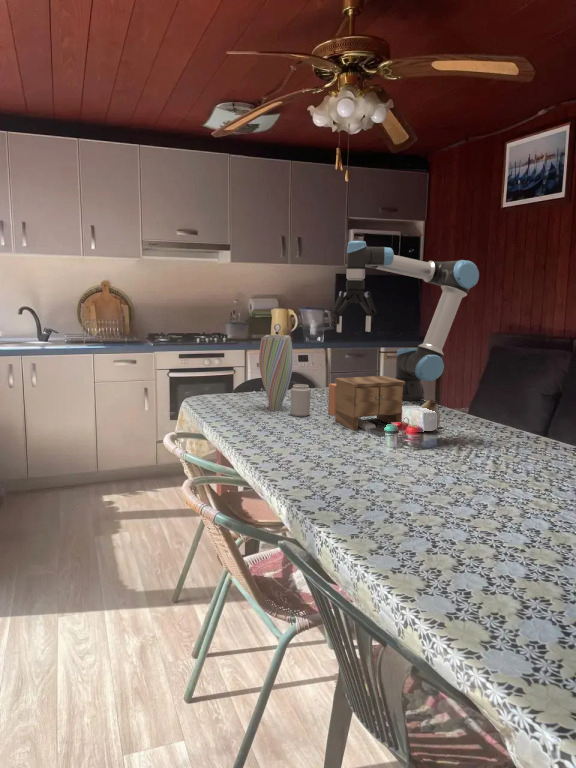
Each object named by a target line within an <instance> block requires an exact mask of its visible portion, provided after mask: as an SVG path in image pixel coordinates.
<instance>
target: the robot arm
mask: <svg viewBox="0 0 576 768" xmlns="http://www.w3.org/2000/svg"><path fill="white" fill-rule="evenodd" d="M366 268H370V269H374V270H375V269H376V270H379V271H384V272H390V273H393V274H397V275H403V276H408V277H413V278H417V279H421V280H422V281H424V282H425V283H429V284H433V285H437V286H439V287H440V288H441V290H442V293H441V295H440V298H439V300H438V303H437V306H436V309H435V311H434V313H433V316H432V319H431V322H430V324H429V327H428V329H427V332H426V335H425V337H424V339H423V343H421V344H418V345H417V348H416V347H415V348H414V347H413V348H411V347H410V348H399V349H397V351H396V357H395V358H396V360H395V361H396V363H395V379H397V380H401V381H405V384H403V397H402V401H406V402H407V401H409V402H410V401H411V402H412V401H415V402H416V401H423V400H425V392H424V386H423V383H422V381H423V382H432V381H436V380H438V378H439V377H441V376H442V374H443V372H444V368H445V364H444V361H443V359H444V356H445V354H444V352H443V348H444V346H445V343H446V340H447V338H448V335H449V332H450V331H451V327H452V325H453V322H454V320H455V318H456V315H457V311H458V310H459V307H460V304H461V302H462V299H464V298H465V297H467V296H468V293H469V291H470V289H472V288H473V287H475V286H476V285H477V284H478V281H479V279H480V271H479V268H478V266H477V265H476V264H475V263H474V262H473V261H470V260H464V259H459V260H451V261H449V260H447V261H435V260H429V261H423V260H419V259H415V258H410V257H407V256H406V257H405V256H401V255H398V254H397V255H395V253H394V250H393V248H391V247H387V246H386V247H385V246H368V245H367V243H366V241H365V240H351V241H349V242H348V243H347V248H346V278H345V279H347V280H346V281H345V290H346V291H338V297H337V299H336V301H335V303H334V304H333V308H332V309H331V311H330V314H331V315H333V316H334V317H335V320H334V323H335V324H336V333H342V327H343V325H342V322H343V321H342V320H343V319H342V318H343V316H342V314H343V312H344V311H345V310H346V308H347V307H348V306H349V305H350V304H355V303H356V304H360V306H361V307H362V309H363V310H364V312H365V313H366V314H367V315H366V316H365V332H368V333H370V332H371V326H372V325H371V324H373V317H374V316H375V315H377V313H378V312H377V309H376V307H375V303H374V302H373V299H372V294H371V291H364V290H365V280H364V279H365V278H366ZM345 297H346V298H345ZM364 298H365V299H364ZM365 300H366V301H365ZM342 302H343V303H342ZM366 302H367V303H366ZM367 304H368V305H367Z"/></svg>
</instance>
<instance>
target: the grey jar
mask: <svg viewBox="0 0 576 768" xmlns="http://www.w3.org/2000/svg"><path fill="white" fill-rule="evenodd" d="M310 410H311V388H310V387H309V384H303V383H298V384H293V385H292V387H291V389H290V414H291V415H292V416H293V417H297V416H299V418H300V417H303V416H304V417H307V416H308V415H310V413H311V411H310ZM304 417H303V418H304Z"/></svg>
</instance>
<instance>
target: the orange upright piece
mask: <svg viewBox="0 0 576 768" xmlns="http://www.w3.org/2000/svg"><path fill="white" fill-rule="evenodd" d="M327 408H328V409H327V412H328V413H327V414H329V415H330V416H333V417H335V408H336V382H335V383H328V407H327ZM358 428H361V429H363V430H366V431H367V430H369V431H370V428H377V427H376V424H374V423H372V422H369V421H367V420H364V419H362V418H361V417H358Z"/></svg>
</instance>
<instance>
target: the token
mask: <svg viewBox="0 0 576 768" xmlns="http://www.w3.org/2000/svg"><path fill="white" fill-rule="evenodd" d="M384 427H385V426H382V427H381V426H379V427H376V428H370V429H369V433H370V434H373V435H374V436H376V437H379V438H381V437H386V436H385V431H384Z"/></svg>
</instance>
